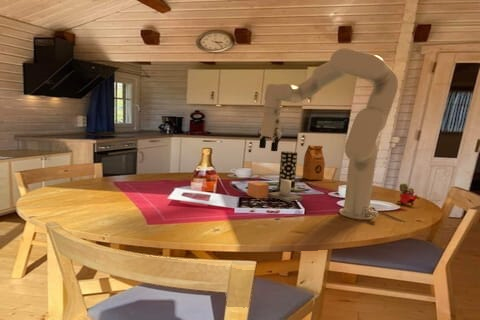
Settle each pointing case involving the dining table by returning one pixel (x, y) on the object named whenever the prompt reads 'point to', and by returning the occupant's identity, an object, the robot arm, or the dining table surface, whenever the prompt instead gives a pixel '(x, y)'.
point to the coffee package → (314, 163)
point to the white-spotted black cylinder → (288, 168)
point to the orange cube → (258, 189)
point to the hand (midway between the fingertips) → (267, 149)
